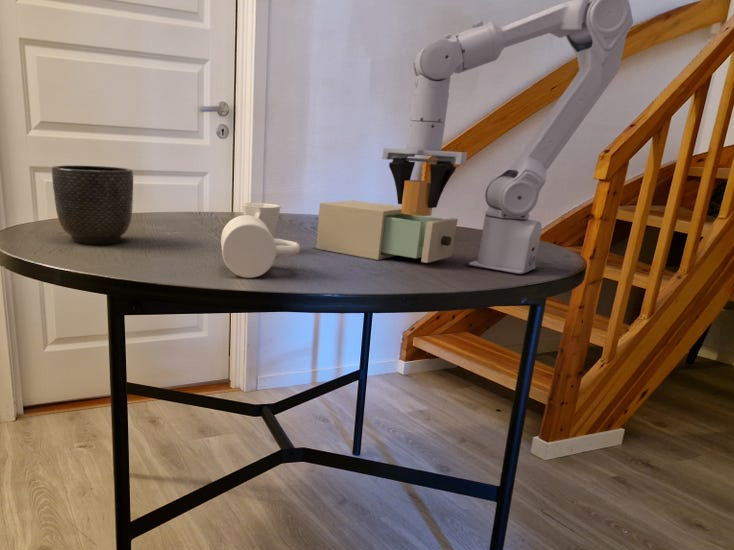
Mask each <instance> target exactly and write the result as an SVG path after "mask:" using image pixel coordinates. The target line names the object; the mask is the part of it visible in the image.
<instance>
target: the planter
mask: <svg viewBox="0 0 734 550" xmlns="http://www.w3.org/2000/svg"><path fill="white" fill-rule="evenodd" d="M51 180H52V181H51V182H52V189H53V197H54V198H53V199H54V205H55V210H56V215H57V220H58V222H59V225H60V227H61V228H62V229H63V231H64V232H65V233H66V234H68V235H69V236H70V237H71V239H72V241H74V242H75V243H78V244H83V245H96V246H97V245H99V246H100V245H111V244H116V243H117V242H119V240H120V239H121V237H122V236H123V235H124V234H125V233H126V232H127V231H128V229H129V228H130V225H131V223H132V222H131V221H132V218H133V217H132V215H133V205H134V204H133V203H134V170H133V169H132V168H126V167H115V166H105V165H103V166H101V165H53V166H52V167H51Z"/></svg>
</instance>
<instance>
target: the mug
mask: <svg viewBox="0 0 734 550" xmlns="http://www.w3.org/2000/svg"><path fill="white" fill-rule="evenodd" d="M220 244H221V245H220V246H221V247H220V248H221V256H222V260H223V262H224V264H225V266H226V267H227V269H228V270H229V271H230V272H231V273H233V274H234V275H236V276H238V277H241V278H244V279H245V278H246V279H252V278H257V277H260V276H262V275H264V274H266V273H267V272H268V271H269V270H270V269H271V268H272V266H273V265H274V263H275V261H276V259H277V258H276V257H277V256H293V255H298V254H299V253H300V250H301V246H300V244H299V242H296V241H292V240H287V239H282V238H275V237H274V238H273V236H272V235H271V233H270V231H269V230H268V228H267V226H266V225H265V224H264V223H263V222H262V221H261V220H260V219H258V218H256V217H254V216H250V215H243V214H242V215H238V216H236V217H233V218H232V219H231V220H229V221H228V222H227V223H226V224H225V226H224V227H223V229H222V232H221V236H220Z"/></svg>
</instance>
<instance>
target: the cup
mask: <svg viewBox="0 0 734 550" xmlns="http://www.w3.org/2000/svg"><path fill="white" fill-rule="evenodd" d="M241 207H242V215H250V216H254V217H256V218H258V219H260V220H261V221H262V222H263V223H264V224H265V225H266V226H267V228H268V230H269V231H270V233H271V235H272V236H273V238H275V235H276V232H277V231H276V230H277V226H278V221H279V218H280V217H279V216H280V212H281V206H280V205H278V204H273V203H266V202H246V203H242V206H241Z"/></svg>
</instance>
